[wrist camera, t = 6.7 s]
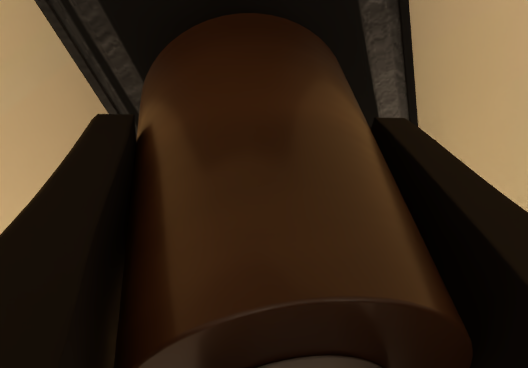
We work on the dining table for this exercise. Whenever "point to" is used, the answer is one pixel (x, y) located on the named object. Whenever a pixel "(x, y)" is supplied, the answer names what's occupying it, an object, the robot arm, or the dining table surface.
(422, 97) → the dining table surface
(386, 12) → the phone
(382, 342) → the salt shaker
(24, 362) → the robot arm
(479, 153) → the dining table surface
